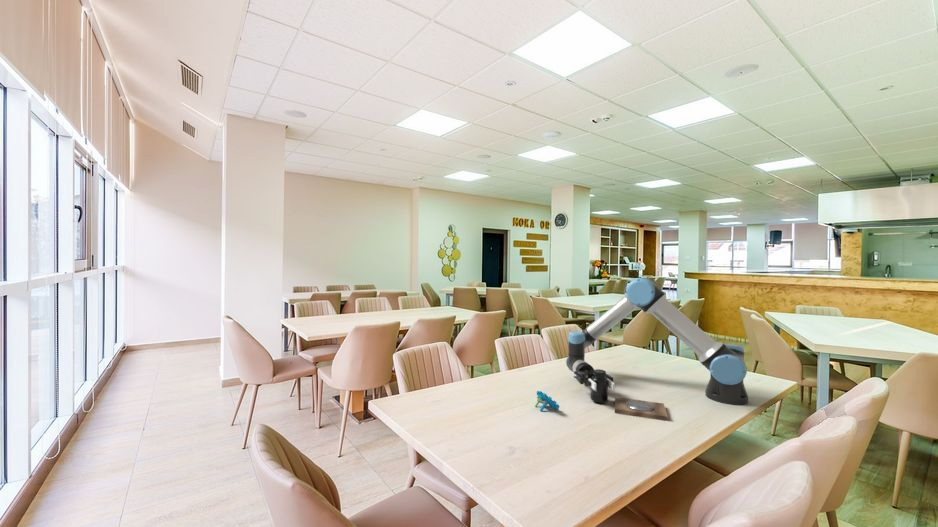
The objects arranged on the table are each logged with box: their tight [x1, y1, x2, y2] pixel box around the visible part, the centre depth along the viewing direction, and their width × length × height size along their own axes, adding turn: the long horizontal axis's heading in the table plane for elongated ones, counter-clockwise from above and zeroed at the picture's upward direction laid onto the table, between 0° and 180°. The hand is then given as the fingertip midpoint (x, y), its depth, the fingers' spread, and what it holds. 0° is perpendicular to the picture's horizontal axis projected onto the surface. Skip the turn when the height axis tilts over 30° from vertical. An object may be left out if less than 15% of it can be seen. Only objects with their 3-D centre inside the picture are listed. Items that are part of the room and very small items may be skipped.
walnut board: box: [614, 396, 669, 422], centre depth 149 cm, size 18×14×2 cm
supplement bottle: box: [590, 369, 609, 404], centre depth 157 cm, size 7×7×12 cm
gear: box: [534, 390, 560, 412], centre depth 148 cm, size 11×6×10 cm
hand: (604, 386), depth 152 cm, fingers closed on supplement bottle, 7 cm apart
